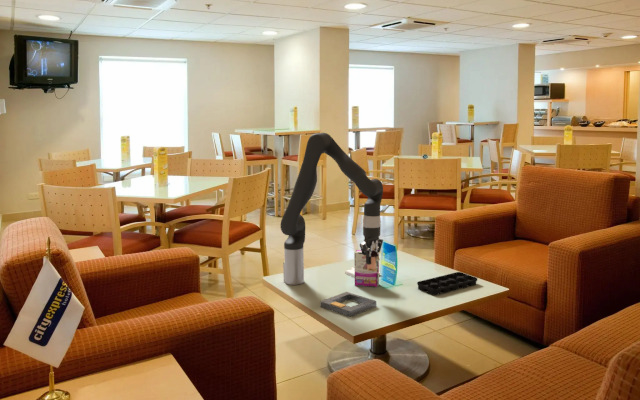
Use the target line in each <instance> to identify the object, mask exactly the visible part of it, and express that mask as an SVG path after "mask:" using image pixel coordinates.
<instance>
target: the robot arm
mask: <svg viewBox="0 0 640 400" xmlns="http://www.w3.org/2000/svg"><path fill="white" fill-rule="evenodd" d="M323 154H326V155H327V156H328V157H330V158H332V160H334V162H335V163H336V164H337V166H338V168H339V169H340V170H341V172H342V173H343V174H344V175H345V176H346V177H347V178H348V180H349V179H350V181H352V182H353V183H354V185H355V186H356V187H357V189H358V190H359V191H360V193H362V194H363V195H364V196H366V197H367V199H366V201H365V203H364V205H363V220H362V221H363V222H362V226H363V227H362V235H363V237H364V239H363V242H362V243H359V247H360V250H361V251H362V254H363V255H366V264H369V265H370V264H371V252H372V251H373V245H374V243H375V249H374V251H376V252H377V253H378V252H379V253H380V252H381V250H382V246H383V243H384V240H383V239H382V238H379V237H380V236H381V222H382V221H381V202H382V199H383V195H384V185H383V183H382V181H381V180H379V179H377V178H372V179H370V178H369V177H368V176H367V171H366V170H364V169H363V167H361V166H360V165H359V164H358V163H356V162H355V161H354V160H353V159H352V158H351V157H350V156H349V155H348V154H347V153H346V152H345V151H344V150H343V149H342V147H340V145H339V144H338V143H337V142H336V141H335V139H334V138H333V137H332V136H331V135H330V134H329V133H327V132H319V133H318V132H317V133H313V134H311V136H309V138H308V140H307V142H306V146H305V152H304V154H303V160H302V162H301V163H302V164H301V165H300V168H299V172H298V175H297V178H296V181H295V183H294V187H293V190H292V193H291V196H290V199H289V202H288V204H287V207H286V210H285V212H284V213H283V215H282V217H281V218H282V219H281V221H280V230H281V233H283V234H284V235H285V236H287V239H286V240H285V241H284V242H283V243H284V244H283V248H284V251H283V252H284V253H283V254H284V262H283V265H282V266H283V267H282V268H283V272H282V273H283V282H284V283H285V284H286V285H292V286H294V285H295V286H296V285H302V284H303V283H304V282H305V263H304V261H305V259H304V243H305V242H306V241H305V240H306V221H305V217H304V216H303V215H301V212H302V210H304V207H305V206H306V205H307V204H308V202H309V200H310V199H311V198H312V196H313V194H314V192H315V190H316V186H317V182H318V173H317V172H318V170H317V167H318V164H319V161H320V159H321V156H322V155H323ZM368 251H369V253H368ZM375 258H377V257H376V256H375Z"/></svg>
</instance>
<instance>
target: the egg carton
mask: <svg viewBox="0 0 640 400" xmlns="http://www.w3.org/2000/svg"><path fill="white" fill-rule="evenodd" d="M477 282H478V277H475V276H473V275H471V274H468V273H464V272H460V271H457V272H452V273H448V274H444V275H440V276H436V277H432V278H427V279H424V280H420V281H417V283H416V284H417V289H418V290H419V291H421V292H427V294H429V295H432V296H439V295H441V294H447V293H449V292H451V291H458V290H459V289H465V288H468V287H474V286H476V285H477Z"/></svg>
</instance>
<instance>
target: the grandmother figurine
mask: <svg viewBox="0 0 640 400" xmlns="http://www.w3.org/2000/svg"><path fill="white" fill-rule="evenodd" d="M374 249H375V243H374V245H373V251H372V252H371V264H370V265H369V264H367V268H368V269H367V271H371V270H372V269H373V270H372V271H377V269H376V258H375V256H376V257H377V260H379V261H380V254H379V255H378V253H377V252H376V251H374ZM368 253H369V251H368ZM365 256H366V255H363V257H364V258H365Z"/></svg>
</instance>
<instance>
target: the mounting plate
mask: <svg viewBox="0 0 640 400" xmlns="http://www.w3.org/2000/svg"><path fill="white" fill-rule="evenodd" d="M344 274H346V275H348V276H350V277H352V278H354V279H355V266H353V267H350V269H346V270H344ZM379 275H380V271H379Z"/></svg>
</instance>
